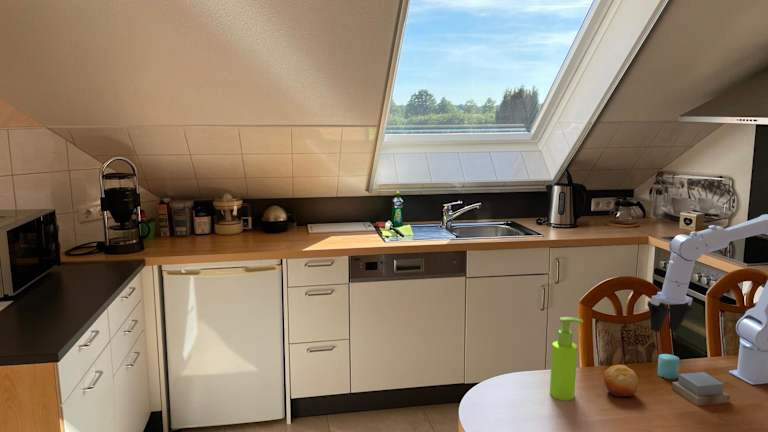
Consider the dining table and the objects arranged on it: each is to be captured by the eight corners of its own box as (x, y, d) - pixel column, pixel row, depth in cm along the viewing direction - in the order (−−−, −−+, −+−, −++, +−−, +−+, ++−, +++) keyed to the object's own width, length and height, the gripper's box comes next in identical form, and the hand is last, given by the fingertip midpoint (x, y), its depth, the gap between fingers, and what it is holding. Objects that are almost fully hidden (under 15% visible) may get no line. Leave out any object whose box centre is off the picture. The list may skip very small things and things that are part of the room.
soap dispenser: (580, 401, 143) (584, 323, 140) (550, 399, 145) (554, 321, 141) (577, 391, 149) (581, 315, 146) (549, 388, 150) (552, 313, 147)
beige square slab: (702, 388, 152) (703, 379, 152) (729, 404, 143) (730, 395, 143) (671, 391, 150) (672, 382, 150) (696, 408, 142) (697, 398, 141)
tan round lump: (629, 378, 153) (636, 360, 148) (636, 405, 147) (644, 387, 142) (597, 377, 154) (603, 358, 149) (603, 404, 148) (609, 385, 143)
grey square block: (702, 381, 150) (703, 371, 150) (722, 393, 144) (723, 383, 143) (678, 383, 149) (678, 374, 149) (697, 396, 142) (698, 386, 142)
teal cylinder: (669, 370, 161) (671, 353, 160) (682, 378, 156) (683, 360, 156) (653, 372, 160) (654, 354, 159) (665, 380, 155) (667, 362, 155)
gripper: (679, 276, 160) (667, 323, 162) (645, 275, 153) (633, 325, 155) (704, 284, 154) (691, 333, 156) (670, 284, 147) (656, 335, 149)
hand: (663, 330), depth 155 cm, fingers open, 7 cm apart
